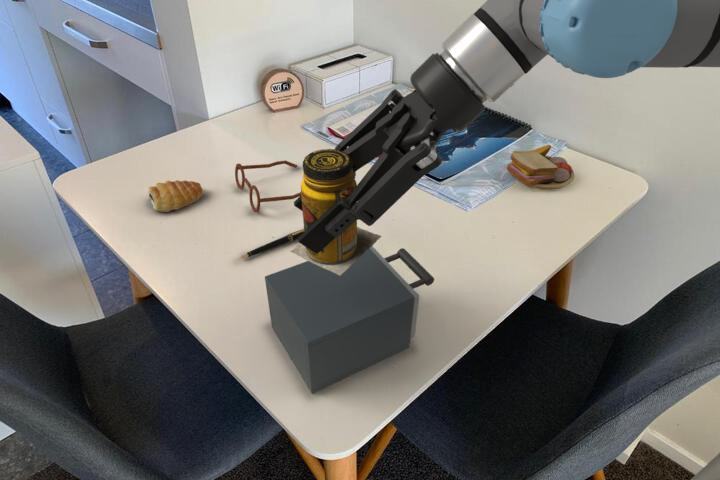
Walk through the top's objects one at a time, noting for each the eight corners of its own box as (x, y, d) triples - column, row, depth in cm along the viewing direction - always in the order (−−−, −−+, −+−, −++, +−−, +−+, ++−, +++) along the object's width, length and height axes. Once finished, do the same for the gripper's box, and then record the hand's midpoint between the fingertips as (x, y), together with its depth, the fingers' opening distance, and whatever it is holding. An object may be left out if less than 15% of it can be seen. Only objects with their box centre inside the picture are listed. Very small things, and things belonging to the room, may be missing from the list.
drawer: (393, 276, 80) (396, 236, 75) (439, 325, 72) (445, 284, 67) (288, 319, 73) (283, 278, 68) (325, 378, 65) (323, 336, 60)
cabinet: (361, 290, 78) (362, 240, 72) (409, 347, 70) (414, 296, 64) (271, 327, 73) (264, 276, 67) (311, 394, 64) (307, 343, 58)
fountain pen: (240, 263, 83) (239, 256, 82) (237, 259, 84) (235, 252, 83) (317, 232, 90) (317, 225, 89) (313, 228, 90) (313, 221, 89)
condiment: (289, 252, 61) (280, 163, 53) (333, 217, 66) (331, 131, 59) (339, 277, 58) (337, 185, 50) (382, 238, 63) (385, 150, 55)
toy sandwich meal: (585, 188, 101) (592, 166, 98) (522, 196, 99) (527, 175, 96) (552, 156, 111) (558, 136, 108) (493, 163, 108) (497, 143, 105)
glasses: (234, 183, 101) (231, 160, 98) (297, 167, 106) (295, 145, 103) (257, 218, 92) (254, 195, 89) (324, 199, 97) (323, 176, 94)
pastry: (196, 184, 101) (193, 167, 98) (209, 202, 96) (205, 184, 94) (147, 199, 97) (142, 181, 94) (157, 218, 92) (152, 200, 90)
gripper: (523, 147, 45) (340, 301, 54) (456, 67, 60) (320, 197, 68) (473, 93, 41) (283, 268, 49) (415, 21, 56) (275, 165, 64)
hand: (305, 226), depth 59 cm, fingers closed on condiment, 6 cm apart
